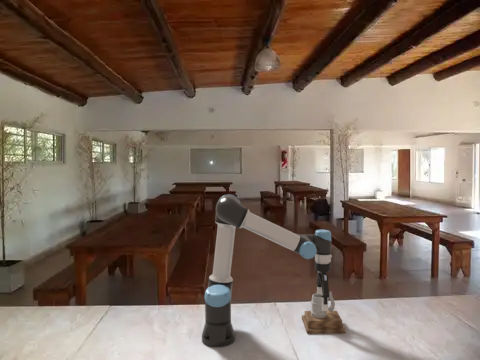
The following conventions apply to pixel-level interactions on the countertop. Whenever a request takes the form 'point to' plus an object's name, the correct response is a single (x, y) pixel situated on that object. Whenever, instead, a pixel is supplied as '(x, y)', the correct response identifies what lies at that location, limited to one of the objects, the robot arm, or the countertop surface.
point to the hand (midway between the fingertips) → (322, 305)
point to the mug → (317, 305)
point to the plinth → (323, 324)
